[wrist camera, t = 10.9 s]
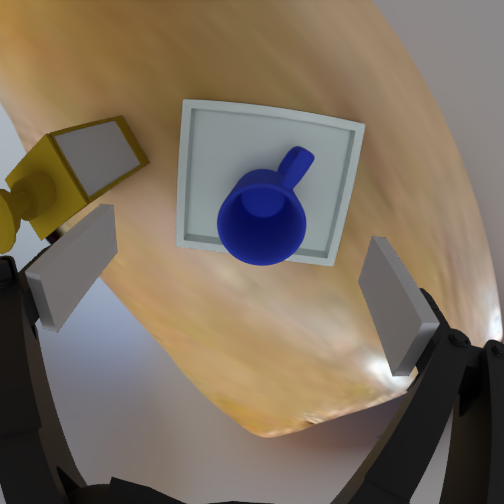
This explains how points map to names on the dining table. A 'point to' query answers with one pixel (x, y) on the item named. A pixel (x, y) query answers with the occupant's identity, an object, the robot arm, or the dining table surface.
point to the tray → (264, 157)
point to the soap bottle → (67, 176)
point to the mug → (266, 212)
